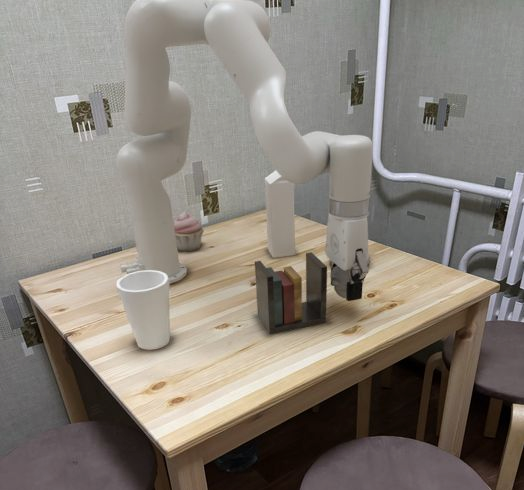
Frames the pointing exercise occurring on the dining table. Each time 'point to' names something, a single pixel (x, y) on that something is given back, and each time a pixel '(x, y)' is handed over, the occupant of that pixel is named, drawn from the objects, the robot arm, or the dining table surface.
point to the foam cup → (147, 306)
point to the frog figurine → (340, 280)
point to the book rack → (291, 296)
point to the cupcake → (188, 232)
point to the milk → (280, 215)
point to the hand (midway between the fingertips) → (345, 291)
